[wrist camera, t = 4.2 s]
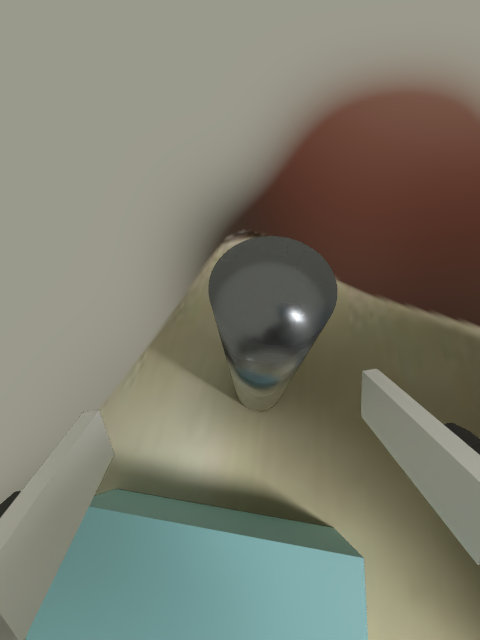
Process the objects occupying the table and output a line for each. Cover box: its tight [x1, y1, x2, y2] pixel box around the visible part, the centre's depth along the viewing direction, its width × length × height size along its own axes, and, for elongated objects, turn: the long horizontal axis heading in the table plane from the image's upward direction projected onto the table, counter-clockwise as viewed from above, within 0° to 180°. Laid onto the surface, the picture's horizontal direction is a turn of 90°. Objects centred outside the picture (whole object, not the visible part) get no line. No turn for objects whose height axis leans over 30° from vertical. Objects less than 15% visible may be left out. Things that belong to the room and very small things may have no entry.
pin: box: [209, 236, 337, 411], centre depth 17 cm, size 4×4×18 cm
